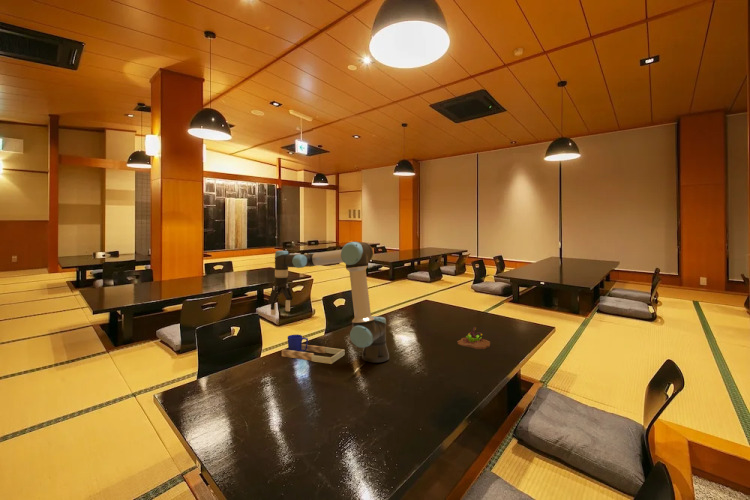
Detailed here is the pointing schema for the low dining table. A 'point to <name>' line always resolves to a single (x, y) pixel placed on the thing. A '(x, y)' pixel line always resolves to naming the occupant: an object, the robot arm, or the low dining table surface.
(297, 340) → the mug
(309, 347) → the wooden serving tray
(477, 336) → the plant
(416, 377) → the low dining table surface
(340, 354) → the tray
